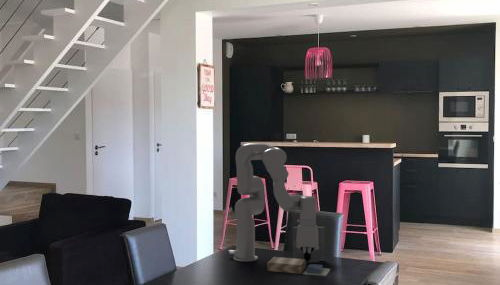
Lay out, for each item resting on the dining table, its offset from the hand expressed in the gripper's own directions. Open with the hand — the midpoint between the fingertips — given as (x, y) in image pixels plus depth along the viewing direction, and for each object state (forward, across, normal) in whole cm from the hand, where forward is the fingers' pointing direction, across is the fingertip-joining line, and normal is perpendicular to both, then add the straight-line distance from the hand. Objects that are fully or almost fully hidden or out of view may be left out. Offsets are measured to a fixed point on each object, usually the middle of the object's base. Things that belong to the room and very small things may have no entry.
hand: (307, 261), depth 255 cm
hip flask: (+5, -3, +19) cm, 20 cm away
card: (+2, +3, 0) cm, 4 cm away
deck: (+5, -10, 0) cm, 11 cm away
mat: (+5, +4, 0) cm, 7 cm away
